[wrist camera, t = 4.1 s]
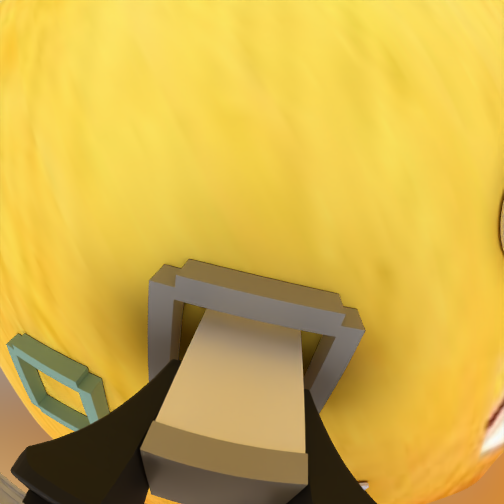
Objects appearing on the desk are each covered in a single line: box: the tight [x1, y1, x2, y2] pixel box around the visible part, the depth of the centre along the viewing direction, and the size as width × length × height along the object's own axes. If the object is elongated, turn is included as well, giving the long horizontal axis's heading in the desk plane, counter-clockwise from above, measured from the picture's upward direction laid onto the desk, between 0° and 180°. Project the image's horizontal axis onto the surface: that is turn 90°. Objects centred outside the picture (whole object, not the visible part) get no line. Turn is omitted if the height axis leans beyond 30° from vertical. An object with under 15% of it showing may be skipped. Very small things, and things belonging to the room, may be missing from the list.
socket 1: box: [6, 333, 110, 431], centre depth 15 cm, size 8×8×2 cm
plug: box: [140, 309, 308, 504], centre depth 9 cm, size 4×4×7 cm
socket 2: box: [148, 259, 365, 413], centre depth 12 cm, size 8×8×2 cm
